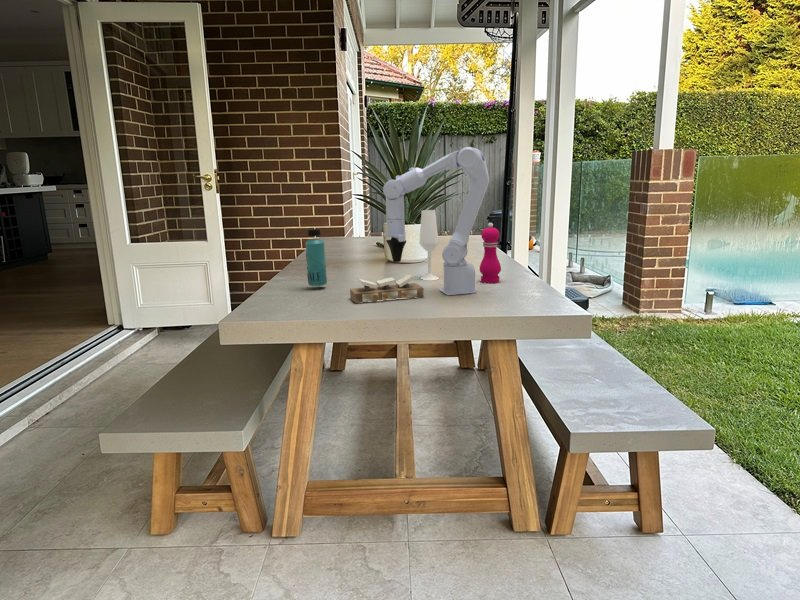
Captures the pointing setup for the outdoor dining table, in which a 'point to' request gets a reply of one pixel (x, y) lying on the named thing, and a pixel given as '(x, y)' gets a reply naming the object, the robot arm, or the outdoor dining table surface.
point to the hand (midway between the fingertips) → (396, 261)
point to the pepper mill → (490, 256)
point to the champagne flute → (428, 237)
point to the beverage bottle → (315, 260)
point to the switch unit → (386, 292)
